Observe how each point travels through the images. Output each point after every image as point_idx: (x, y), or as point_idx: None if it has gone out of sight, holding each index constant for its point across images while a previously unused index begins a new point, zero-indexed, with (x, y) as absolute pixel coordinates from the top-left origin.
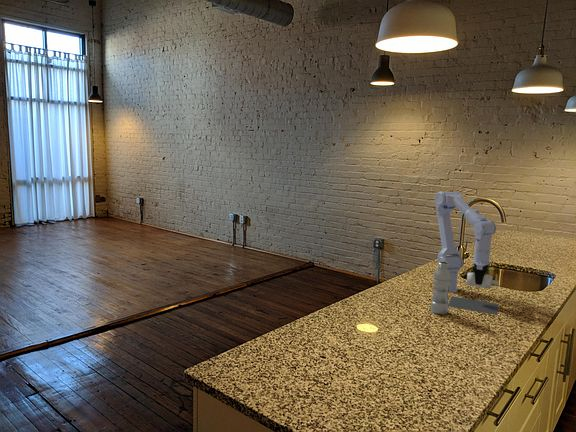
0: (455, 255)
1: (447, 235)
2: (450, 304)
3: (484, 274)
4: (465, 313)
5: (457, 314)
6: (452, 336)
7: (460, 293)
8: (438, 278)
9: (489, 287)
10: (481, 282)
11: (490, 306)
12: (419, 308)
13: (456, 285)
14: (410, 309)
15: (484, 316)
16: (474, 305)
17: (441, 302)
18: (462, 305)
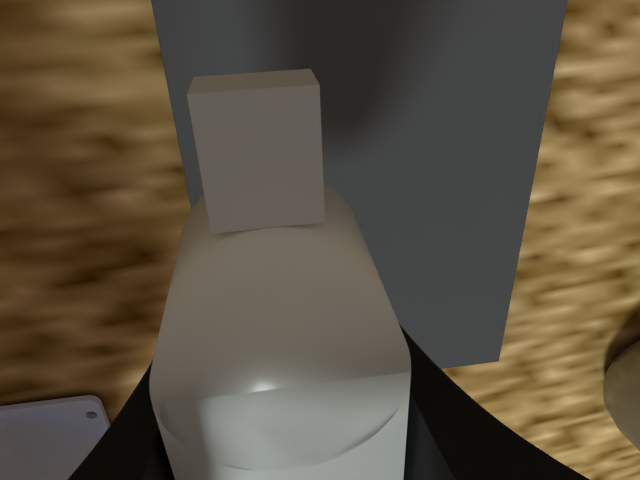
0: None
1: None
2: (452, 356)
3: (545, 454)
4: (582, 233)
5: (624, 273)
6: None
7: (54, 368)
8: None
9: (332, 192)
10: (409, 343)
11: (314, 72)
12: (584, 451)
13: (2, 454)
14: (616, 472)
15: (607, 88)
16: (376, 212)
17: None
18: (432, 289)
